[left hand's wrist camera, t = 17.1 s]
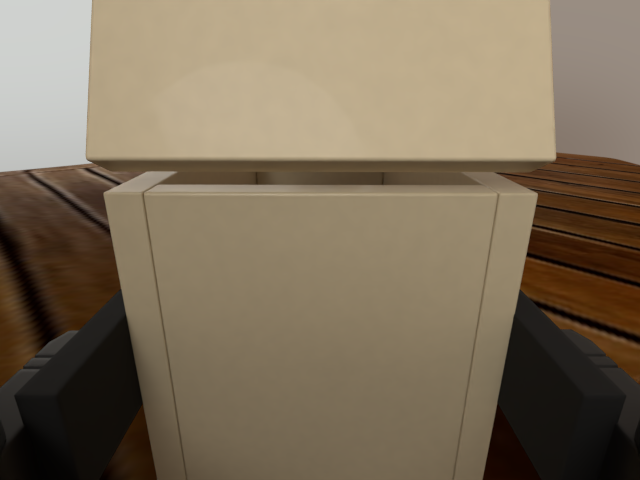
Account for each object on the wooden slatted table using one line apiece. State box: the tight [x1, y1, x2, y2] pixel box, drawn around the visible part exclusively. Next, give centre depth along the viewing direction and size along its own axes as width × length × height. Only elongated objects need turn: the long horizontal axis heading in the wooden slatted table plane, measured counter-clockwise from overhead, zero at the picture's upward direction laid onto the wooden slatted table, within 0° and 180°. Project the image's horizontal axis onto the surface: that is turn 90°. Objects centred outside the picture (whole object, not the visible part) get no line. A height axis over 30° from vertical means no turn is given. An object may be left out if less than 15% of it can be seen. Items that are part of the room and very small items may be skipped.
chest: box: [104, 171, 538, 480], centre depth 19 cm, size 17×10×11 cm, turn 0°
